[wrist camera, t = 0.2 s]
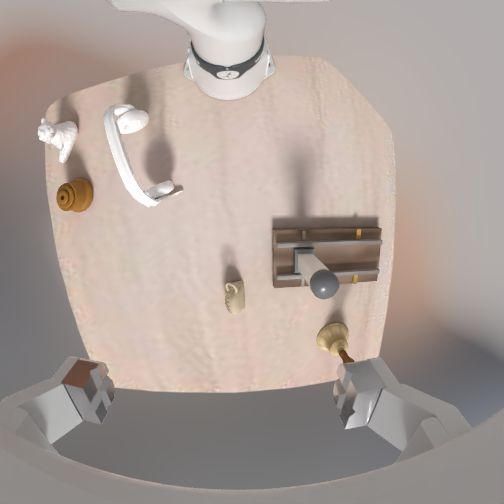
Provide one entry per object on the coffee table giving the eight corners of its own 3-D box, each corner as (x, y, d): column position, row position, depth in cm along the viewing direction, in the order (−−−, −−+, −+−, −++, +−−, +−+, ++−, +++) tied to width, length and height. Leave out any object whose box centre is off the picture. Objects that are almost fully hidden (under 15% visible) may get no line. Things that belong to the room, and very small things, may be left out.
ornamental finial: (72, 214, 52) (67, 183, 50) (97, 207, 52) (91, 174, 50) (53, 219, 44) (47, 184, 42) (79, 211, 44) (73, 174, 42)
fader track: (272, 229, 55) (274, 232, 52) (377, 227, 57) (384, 229, 53) (272, 284, 58) (275, 290, 55) (373, 277, 60) (379, 282, 56)
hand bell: (316, 325, 62) (337, 365, 46) (348, 319, 62) (376, 355, 47) (316, 353, 64) (335, 395, 48) (347, 346, 64) (371, 385, 49)
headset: (123, 123, 48) (82, 104, 31) (153, 108, 48) (120, 81, 30) (154, 208, 53) (119, 220, 36) (185, 194, 53) (161, 200, 36)
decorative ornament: (226, 309, 59) (225, 321, 54) (224, 274, 57) (223, 283, 52) (244, 309, 60) (245, 320, 54) (243, 273, 58) (244, 282, 52)
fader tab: (293, 248, 54) (312, 271, 40) (314, 247, 54) (340, 270, 40) (292, 271, 55) (311, 301, 41) (313, 270, 56) (337, 299, 41)
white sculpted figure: (49, 138, 47) (18, 134, 35) (71, 112, 46) (42, 102, 34) (65, 165, 49) (33, 164, 37) (88, 138, 48) (58, 131, 36)
